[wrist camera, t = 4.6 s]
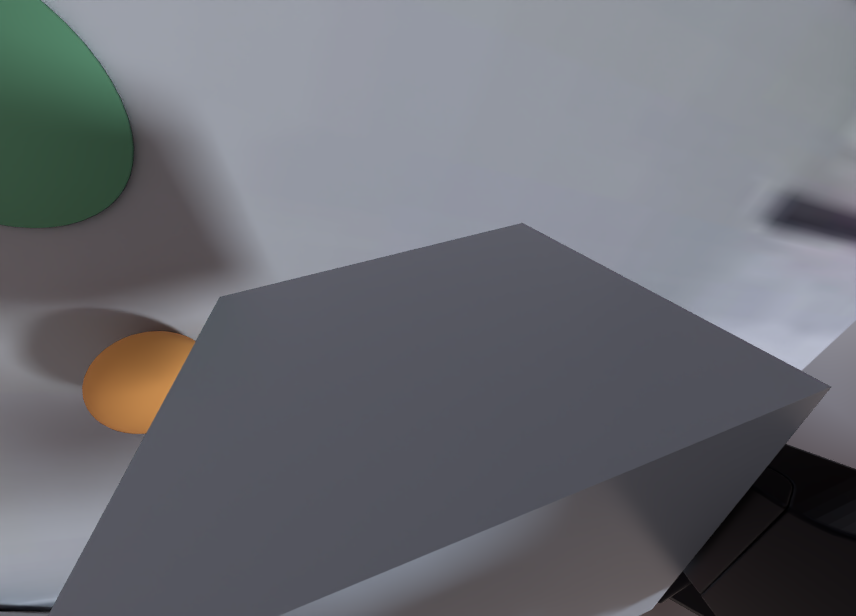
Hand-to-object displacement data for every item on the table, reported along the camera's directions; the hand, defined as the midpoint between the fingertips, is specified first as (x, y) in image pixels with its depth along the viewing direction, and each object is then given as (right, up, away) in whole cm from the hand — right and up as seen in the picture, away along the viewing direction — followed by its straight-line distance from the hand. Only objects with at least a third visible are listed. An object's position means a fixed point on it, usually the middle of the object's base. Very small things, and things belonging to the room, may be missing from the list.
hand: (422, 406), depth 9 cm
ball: (-14, -1, +7) cm, 16 cm away
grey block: (0, +1, +1) cm, 2 cm away
